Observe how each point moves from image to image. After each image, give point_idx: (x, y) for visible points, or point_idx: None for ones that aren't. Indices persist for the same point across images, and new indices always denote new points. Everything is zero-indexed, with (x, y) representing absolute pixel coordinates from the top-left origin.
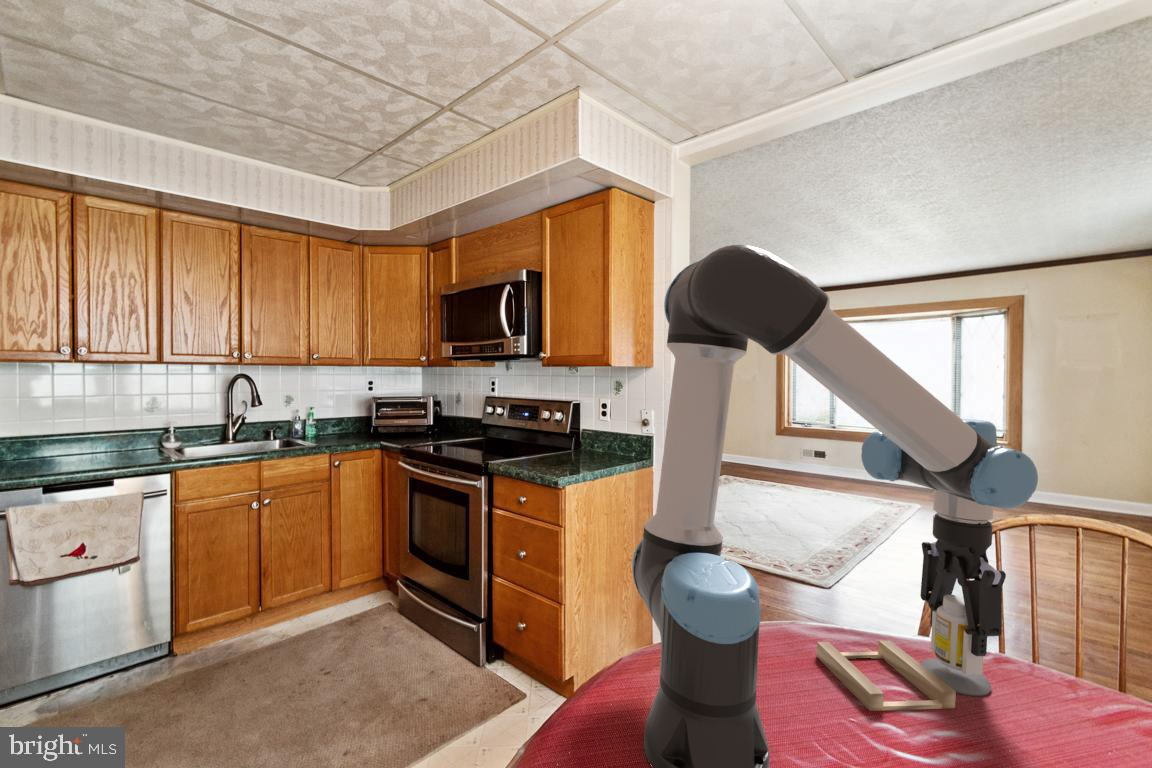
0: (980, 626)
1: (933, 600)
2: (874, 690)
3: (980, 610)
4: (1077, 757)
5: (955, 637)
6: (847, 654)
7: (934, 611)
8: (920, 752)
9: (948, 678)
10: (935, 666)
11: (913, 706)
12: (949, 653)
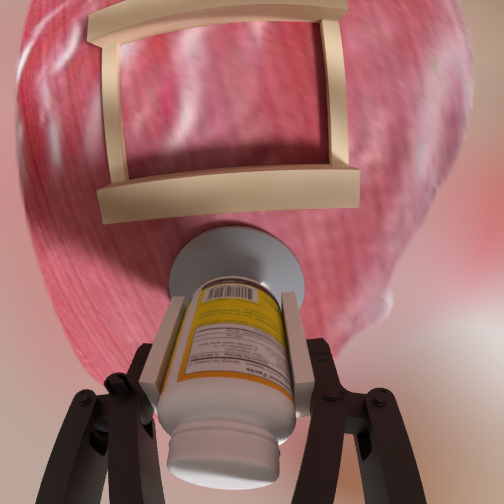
0: (86, 411)
1: (323, 419)
2: (98, 24)
3: (72, 458)
4: (56, 311)
5: (179, 348)
6: (332, 64)
7: (309, 384)
8: (23, 82)
9: (218, 269)
10: (270, 273)
11: (104, 114)
12: (197, 302)
